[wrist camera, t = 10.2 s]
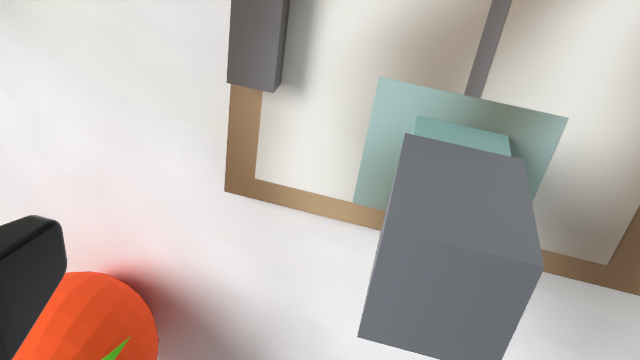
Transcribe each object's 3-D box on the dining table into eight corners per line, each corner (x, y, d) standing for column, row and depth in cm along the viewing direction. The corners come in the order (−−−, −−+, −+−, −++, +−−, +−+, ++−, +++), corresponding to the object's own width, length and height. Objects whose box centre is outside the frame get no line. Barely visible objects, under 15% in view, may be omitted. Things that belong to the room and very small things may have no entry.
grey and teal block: (518, 130, 18) (544, 268, 12) (486, 218, 20) (494, 374, 14) (410, 106, 18) (384, 228, 12) (389, 194, 20) (357, 336, 14)
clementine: (126, 208, 24) (17, 323, 18) (227, 316, 26) (158, 452, 20) (28, 273, 28) (-91, 386, 22) (122, 364, 30) (38, 490, 24)
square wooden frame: (968, -258, 12) (1035, -272, 11) (640, 284, 21) (654, 316, 19) (266, -352, 14) (243, -374, 13) (230, 182, 22) (214, 204, 21)
